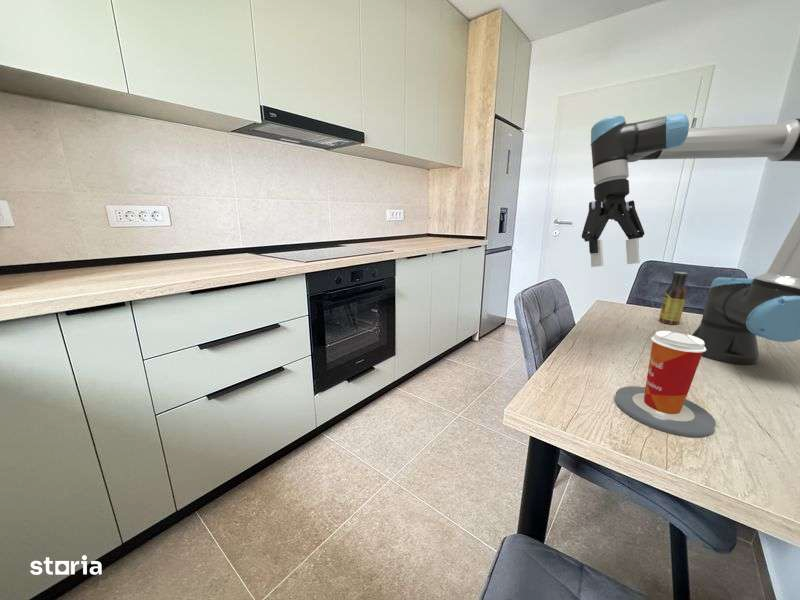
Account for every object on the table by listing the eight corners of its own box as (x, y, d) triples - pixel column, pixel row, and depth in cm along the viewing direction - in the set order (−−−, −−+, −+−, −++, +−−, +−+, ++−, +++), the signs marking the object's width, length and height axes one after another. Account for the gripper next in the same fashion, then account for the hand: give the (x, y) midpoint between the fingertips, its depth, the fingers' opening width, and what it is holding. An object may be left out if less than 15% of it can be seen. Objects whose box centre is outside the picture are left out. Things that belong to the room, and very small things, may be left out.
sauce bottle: (660, 319, 129) (672, 270, 124) (680, 323, 125) (693, 272, 120) (656, 322, 125) (668, 271, 120) (676, 326, 120) (690, 274, 115)
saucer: (647, 386, 76) (648, 381, 76) (733, 427, 61) (735, 421, 61) (597, 397, 71) (598, 392, 70) (678, 445, 56) (680, 439, 56)
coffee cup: (638, 390, 72) (653, 327, 68) (687, 404, 66) (706, 336, 63) (635, 406, 65) (651, 337, 61) (689, 423, 60) (710, 349, 56)
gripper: (628, 188, 90) (632, 263, 91) (562, 185, 82) (568, 269, 82) (657, 179, 84) (662, 260, 84) (589, 174, 75) (595, 266, 75)
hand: (615, 265), depth 83 cm, fingers open, 13 cm apart
